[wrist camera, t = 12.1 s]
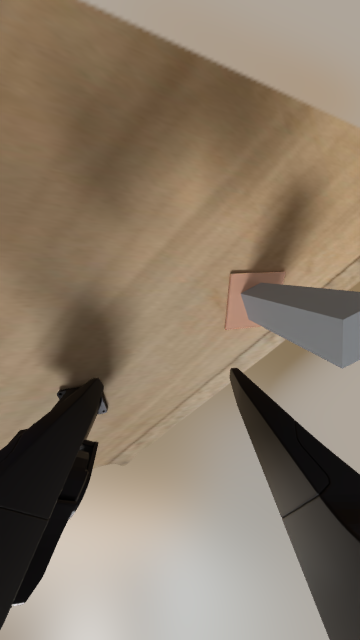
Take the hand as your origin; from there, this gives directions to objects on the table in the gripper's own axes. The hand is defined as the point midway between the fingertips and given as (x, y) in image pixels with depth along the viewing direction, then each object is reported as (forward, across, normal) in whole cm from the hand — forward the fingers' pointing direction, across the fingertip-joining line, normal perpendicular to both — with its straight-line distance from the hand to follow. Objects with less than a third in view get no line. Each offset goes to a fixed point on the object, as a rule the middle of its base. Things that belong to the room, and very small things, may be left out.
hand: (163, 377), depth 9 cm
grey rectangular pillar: (+14, -13, +1) cm, 19 cm away
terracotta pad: (+14, -13, +1) cm, 19 cm away
